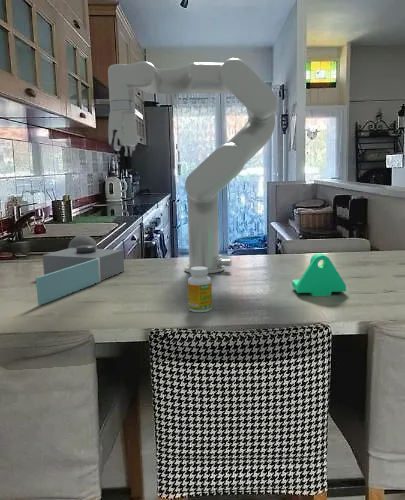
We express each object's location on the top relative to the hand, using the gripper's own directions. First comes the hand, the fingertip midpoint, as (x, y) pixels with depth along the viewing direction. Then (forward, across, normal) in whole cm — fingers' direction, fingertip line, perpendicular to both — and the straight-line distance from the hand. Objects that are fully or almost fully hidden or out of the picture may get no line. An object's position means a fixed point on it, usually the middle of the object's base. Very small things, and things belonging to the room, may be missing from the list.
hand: (125, 169), depth 148 cm
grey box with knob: (+32, +8, -12) cm, 35 cm away
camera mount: (+32, +9, +60) cm, 69 cm away
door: (+32, +28, -2) cm, 42 cm away
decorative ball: (+32, -8, -24) cm, 41 cm away
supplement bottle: (+32, +32, +37) cm, 59 cm away
